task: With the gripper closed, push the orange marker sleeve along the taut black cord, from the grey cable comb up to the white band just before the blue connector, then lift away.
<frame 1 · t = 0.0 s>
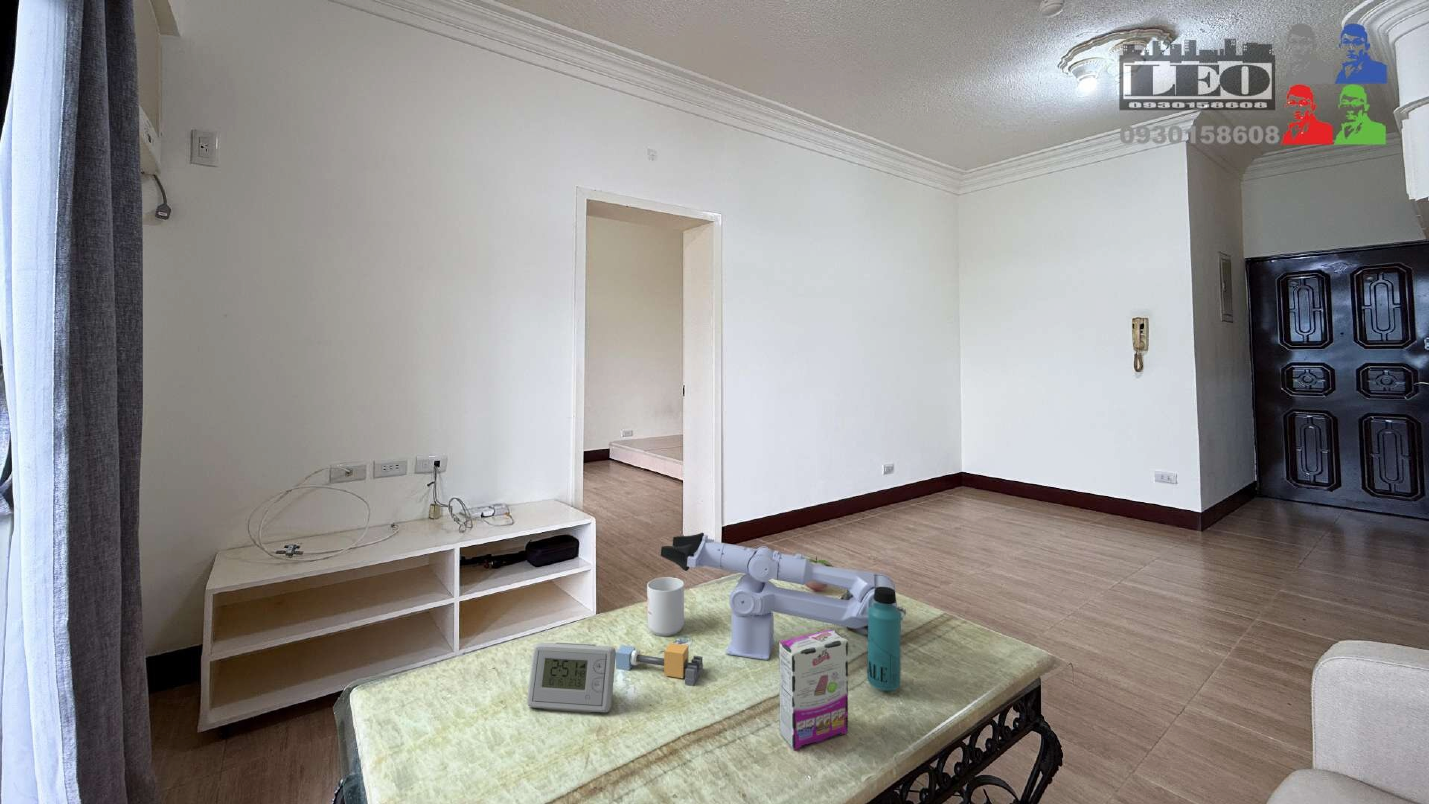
hand: (667, 546, 125), 22 cm above the table, tool horizontal, fingers open, 7 cm apart
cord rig: (660, 671, 111), on the table
candy bar box: (813, 734, 92), on the table
grey black rounded piece: (871, 629, 130), on the table
decorative fruit: (816, 592, 153), on the table
beverage bottle: (883, 690, 105), on the table, touching arm
sleeve: (676, 660, 110), point 3 cm above the table, slide at 0.0 cm
mug: (663, 627, 131), on the table
digital clock: (572, 705, 100), on the table
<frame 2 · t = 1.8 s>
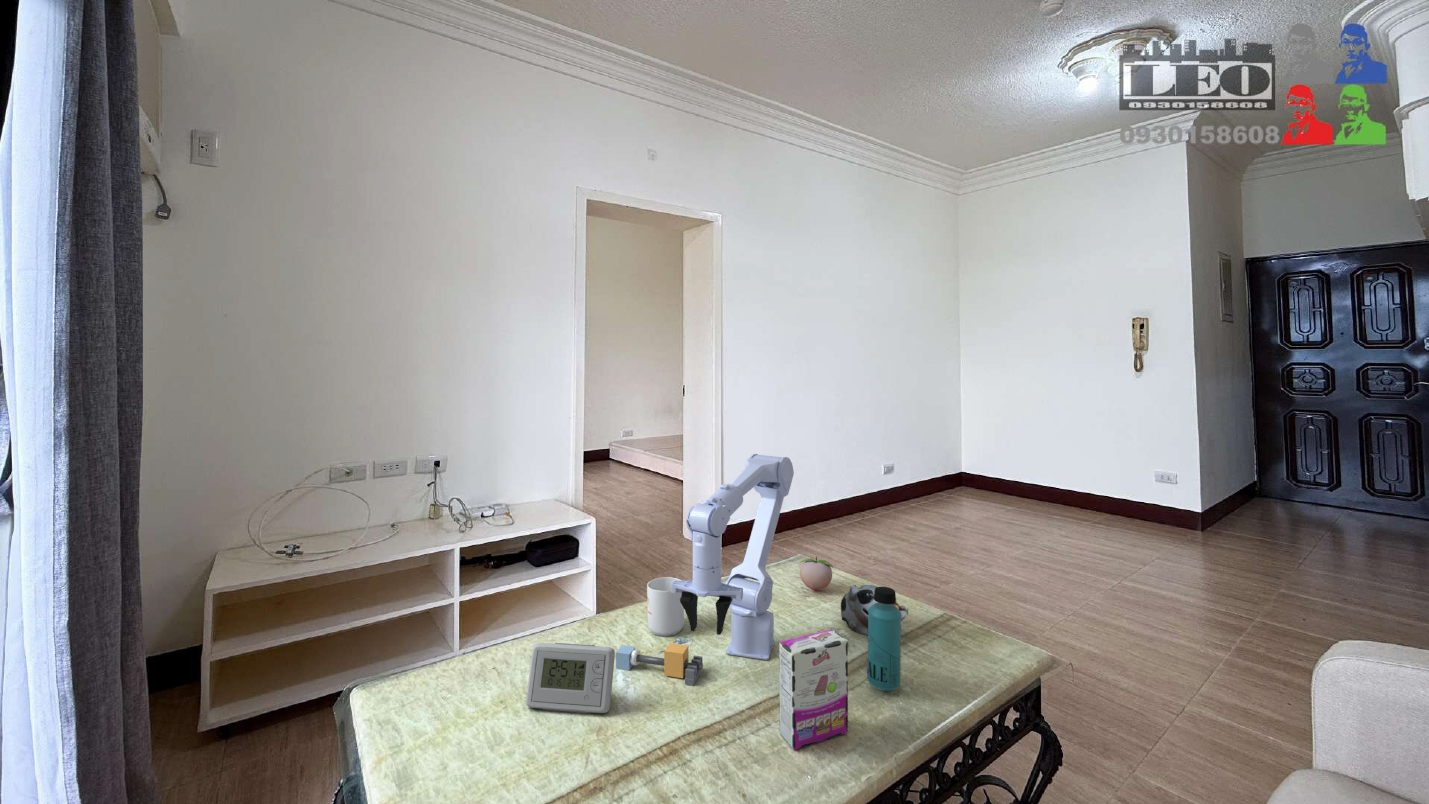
hand: (706, 630, 108), 10 cm above the table, tool pointing down, fingers open, 5 cm apart
beverage bottle: (883, 690, 105), on the table
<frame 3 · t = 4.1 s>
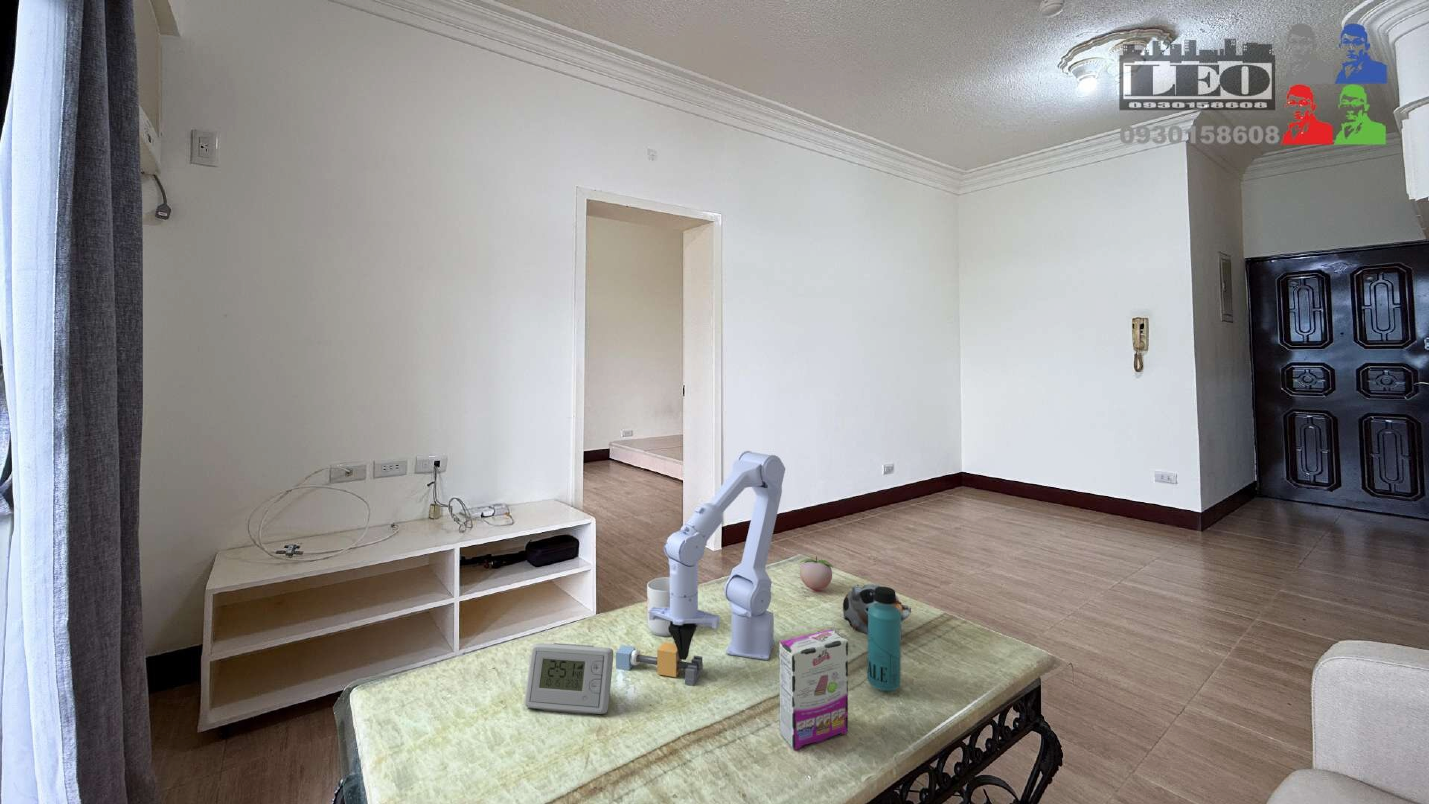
hand: (683, 657, 109), 4 cm above the table, tool pointing down, fingers closed
sleeve: (669, 659, 110), point 3 cm above the table, slide at 1.5 cm, touching gripper
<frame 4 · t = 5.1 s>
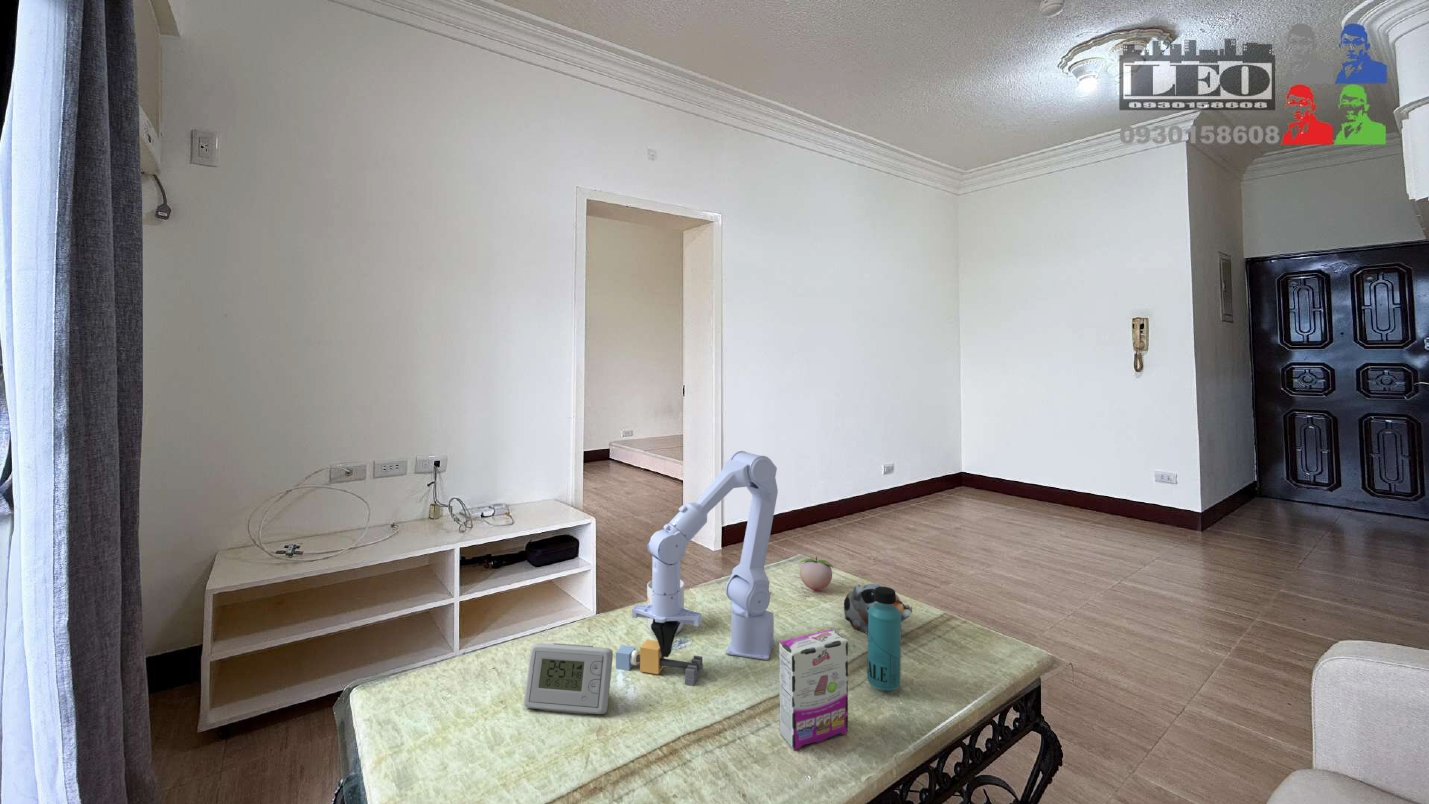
hand: (666, 654, 110), 4 cm above the table, tool pointing down, fingers closed
sleeve: (652, 656, 111), point 3 cm above the table, slide at 5.3 cm, touching gripper
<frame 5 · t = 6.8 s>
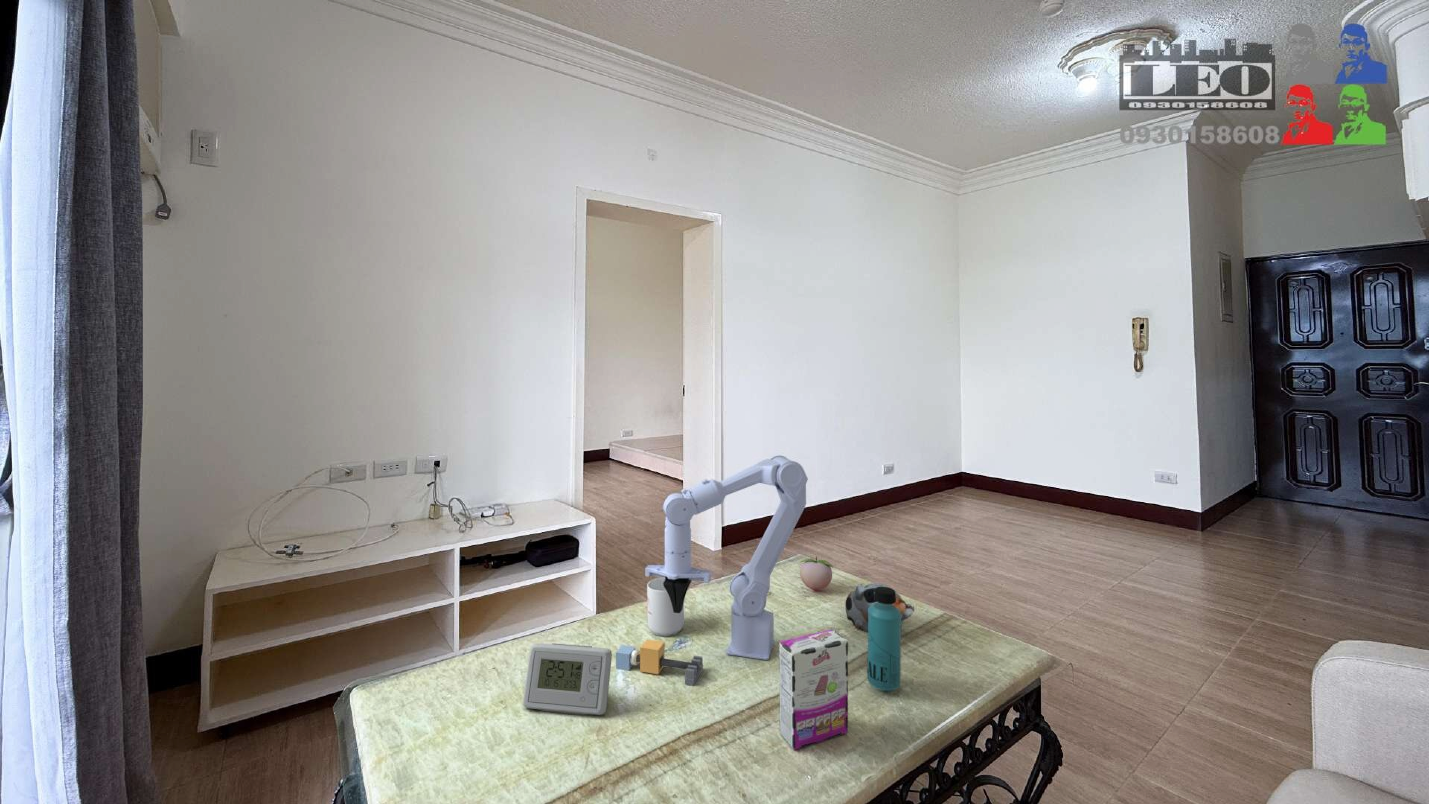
hand: (677, 611, 117), 10 cm above the table, tool pointing down, fingers closed
sleeve: (652, 656, 111), point 3 cm above the table, slide at 5.3 cm
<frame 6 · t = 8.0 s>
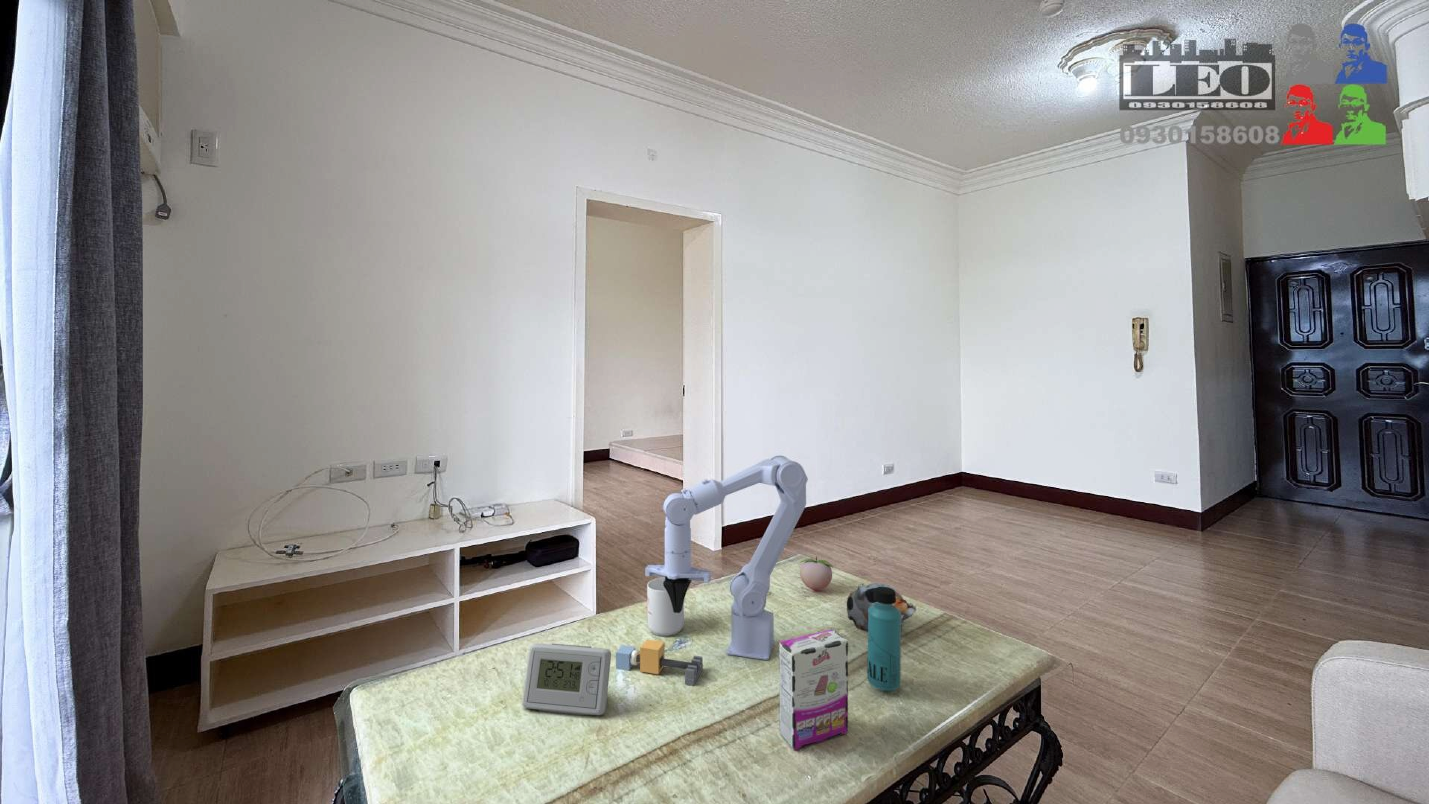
hand: (677, 610, 117), 10 cm above the table, tool pointing down, fingers closed
at the end: sleeve slide at 5.3 cm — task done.
